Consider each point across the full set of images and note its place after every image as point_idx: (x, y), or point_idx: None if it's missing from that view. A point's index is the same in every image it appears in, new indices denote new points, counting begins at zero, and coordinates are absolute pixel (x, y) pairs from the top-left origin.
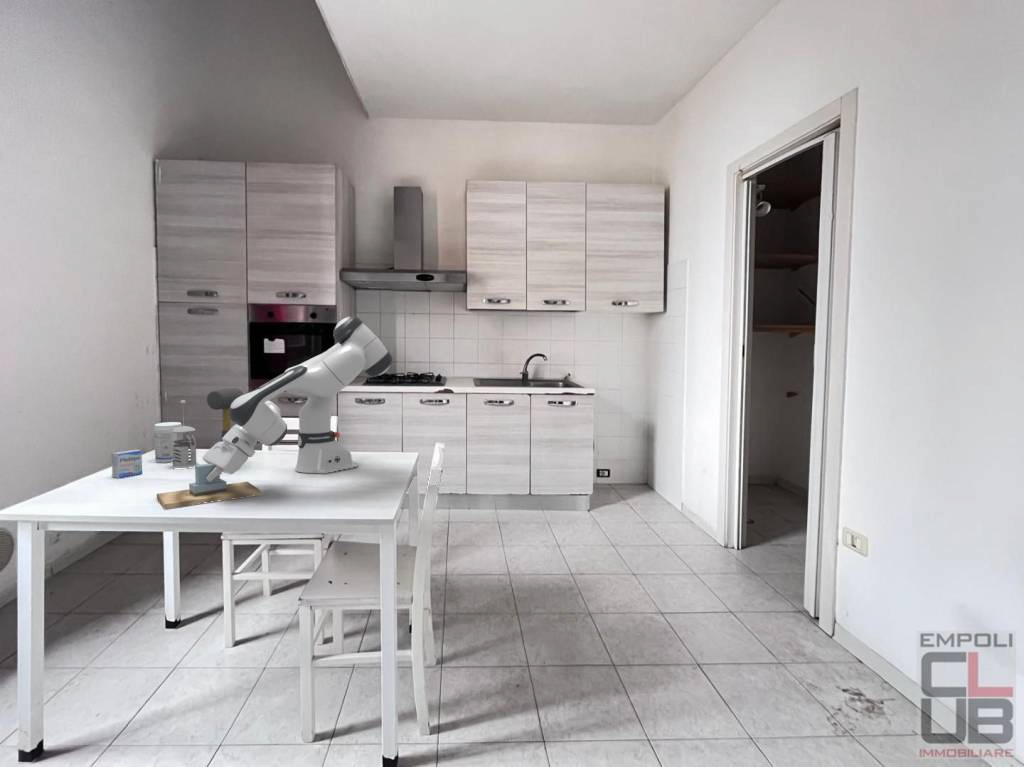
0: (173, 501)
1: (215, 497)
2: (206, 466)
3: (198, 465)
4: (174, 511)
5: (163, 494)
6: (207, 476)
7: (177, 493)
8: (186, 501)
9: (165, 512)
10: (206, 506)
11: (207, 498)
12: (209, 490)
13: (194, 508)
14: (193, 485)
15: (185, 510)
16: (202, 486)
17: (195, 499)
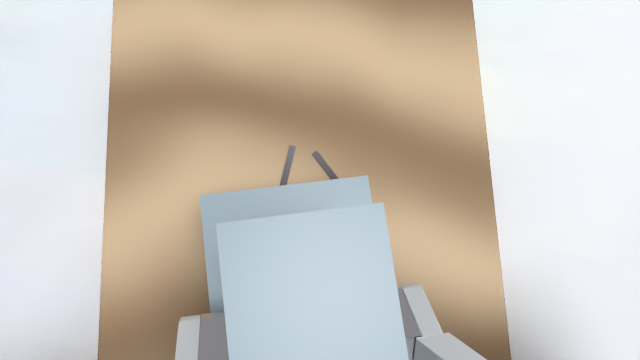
0: (161, 51)
1: (101, 356)
2: (229, 357)
3: (348, 248)
4: (32, 52)
5: (423, 30)
6: (189, 335)
7: (400, 115)
8: (108, 131)
9: (47, 2)
10: (18, 262)
11: (102, 289)
12: None
13: (20, 177)
14: (254, 194)
15: (7, 115)
16: (207, 270)
17: (115, 197)
